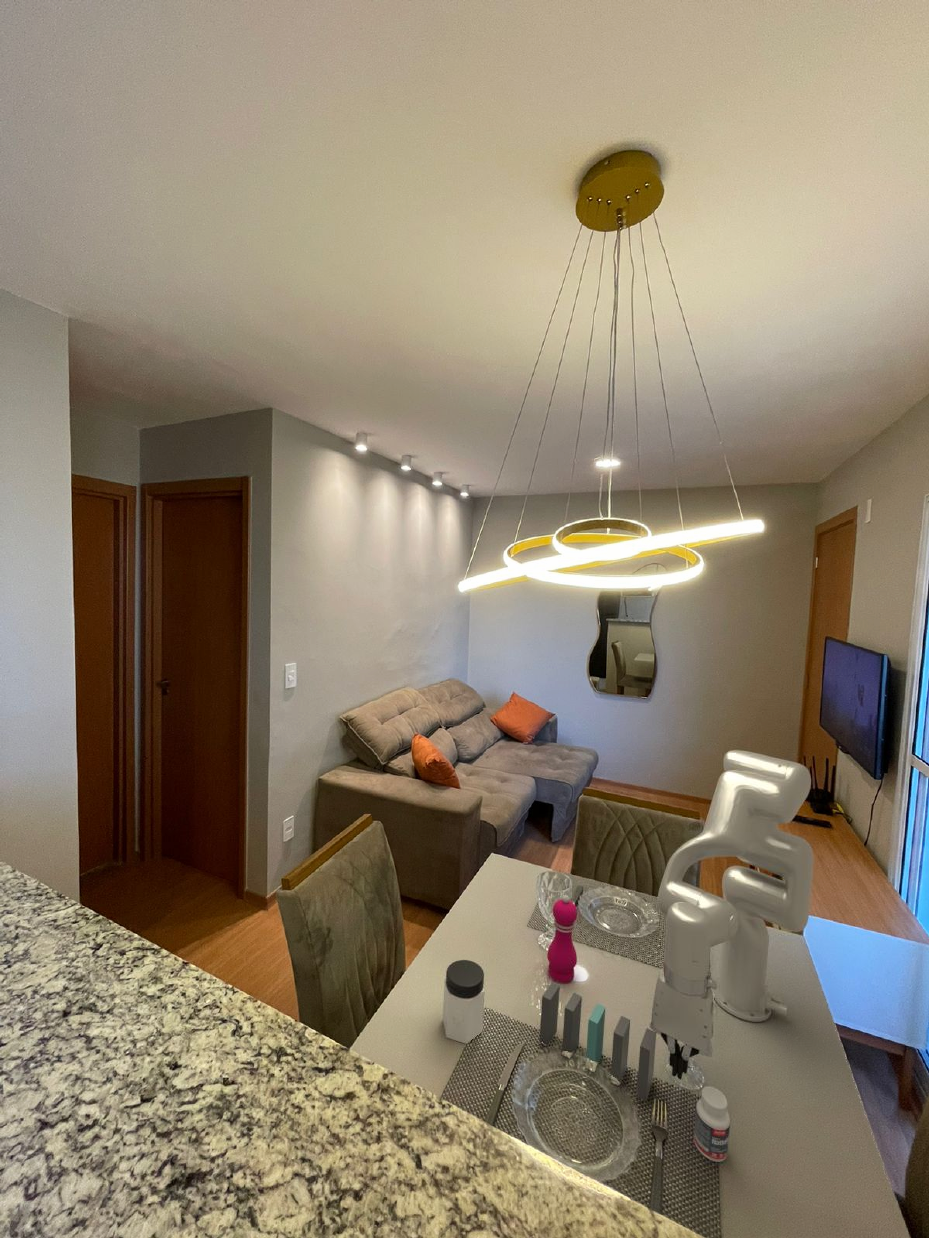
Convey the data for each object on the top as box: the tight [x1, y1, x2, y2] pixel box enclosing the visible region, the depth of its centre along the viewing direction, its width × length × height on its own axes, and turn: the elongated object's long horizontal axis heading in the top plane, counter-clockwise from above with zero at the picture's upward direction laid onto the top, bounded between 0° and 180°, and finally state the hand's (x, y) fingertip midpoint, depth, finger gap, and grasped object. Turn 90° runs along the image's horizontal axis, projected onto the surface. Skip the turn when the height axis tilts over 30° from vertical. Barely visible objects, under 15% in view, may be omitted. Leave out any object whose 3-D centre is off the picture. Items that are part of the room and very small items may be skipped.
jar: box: [442, 959, 486, 1045], centre depth 110 cm, size 9×8×12 cm
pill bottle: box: [693, 1085, 731, 1163], centre depth 89 cm, size 5×5×9 cm
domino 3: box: [585, 1003, 606, 1062], centre depth 104 cm, size 2×5×10 cm, turn 147°
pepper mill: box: [546, 894, 578, 984], centre depth 128 cm, size 7×7×20 cm
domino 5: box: [636, 1027, 657, 1103], centre depth 98 cm, size 2×5×10 cm, turn 147°
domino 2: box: [561, 992, 583, 1052], centre depth 107 cm, size 2×5×10 cm, turn 147°
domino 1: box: [538, 981, 561, 1046], centre depth 109 cm, size 2×5×10 cm, turn 147°
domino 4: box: [610, 1015, 631, 1083], centre depth 101 cm, size 2×5×10 cm, turn 147°
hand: (678, 1071), depth 95 cm, fingers closed
